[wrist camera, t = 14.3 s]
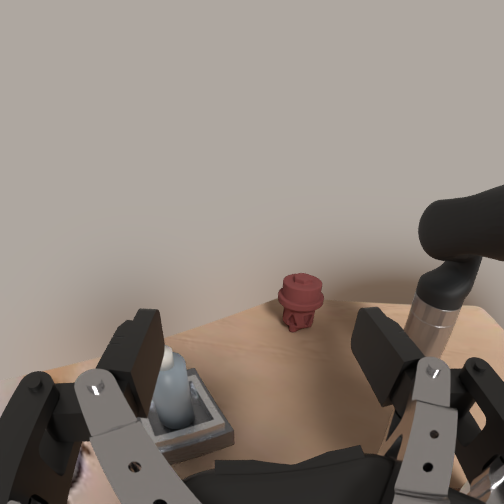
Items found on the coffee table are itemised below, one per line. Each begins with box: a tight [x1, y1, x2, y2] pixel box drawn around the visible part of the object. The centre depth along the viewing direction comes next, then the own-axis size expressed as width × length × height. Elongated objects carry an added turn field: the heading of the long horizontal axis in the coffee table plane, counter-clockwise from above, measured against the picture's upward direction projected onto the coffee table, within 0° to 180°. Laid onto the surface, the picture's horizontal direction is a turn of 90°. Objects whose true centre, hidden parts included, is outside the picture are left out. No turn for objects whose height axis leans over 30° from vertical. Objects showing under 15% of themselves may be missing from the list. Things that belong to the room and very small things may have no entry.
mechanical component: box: [278, 273, 324, 332], centre depth 60 cm, size 12×10×10 cm
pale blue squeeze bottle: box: [152, 345, 194, 429], centre depth 30 cm, size 5×5×12 cm
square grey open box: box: [137, 368, 234, 465], centre depth 34 cm, size 12×14×6 cm
